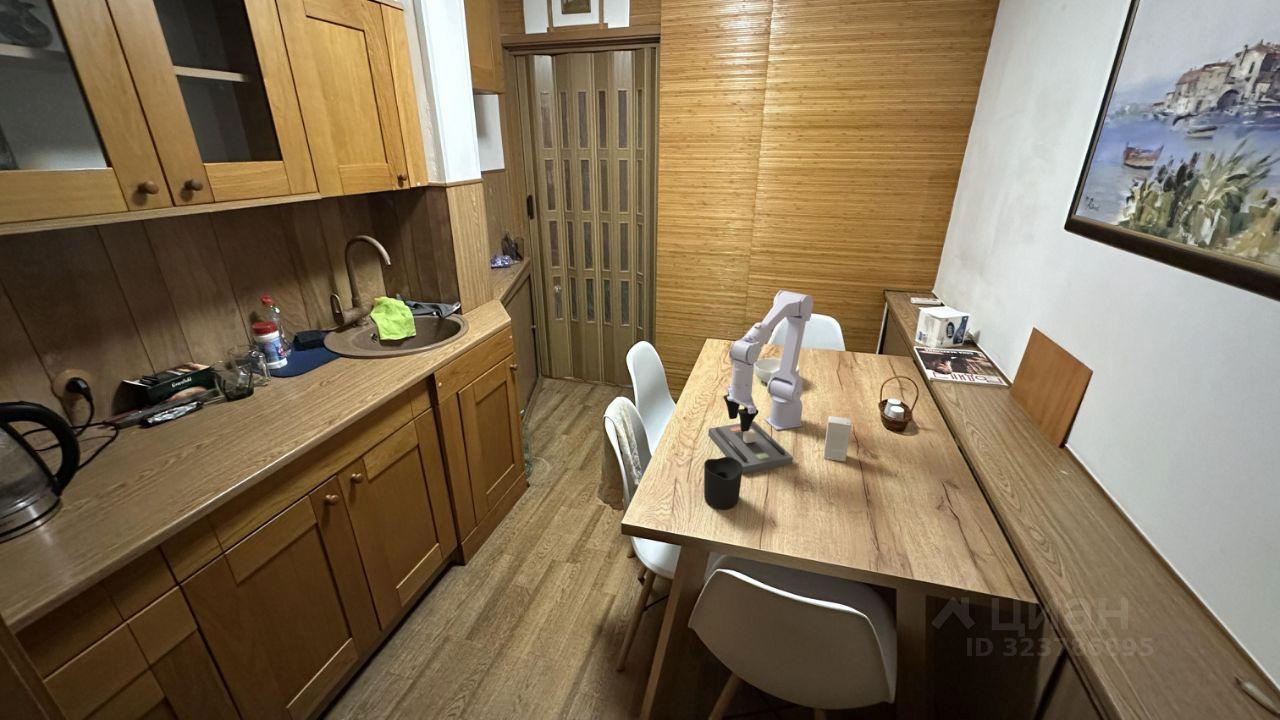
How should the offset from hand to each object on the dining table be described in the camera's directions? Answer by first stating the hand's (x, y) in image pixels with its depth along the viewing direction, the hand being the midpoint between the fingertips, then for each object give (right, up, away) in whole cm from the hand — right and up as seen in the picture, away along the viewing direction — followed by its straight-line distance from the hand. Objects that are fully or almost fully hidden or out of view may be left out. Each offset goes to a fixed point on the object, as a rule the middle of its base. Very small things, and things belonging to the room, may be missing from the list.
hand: (738, 424), depth 143 cm
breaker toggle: (+4, -5, +3) cm, 7 cm away
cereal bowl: (+24, +10, +50) cm, 56 cm away
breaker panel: (+4, -8, +4) cm, 10 cm away
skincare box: (+28, -10, 0) cm, 29 cm away
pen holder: (-8, -17, -17) cm, 26 cm away
